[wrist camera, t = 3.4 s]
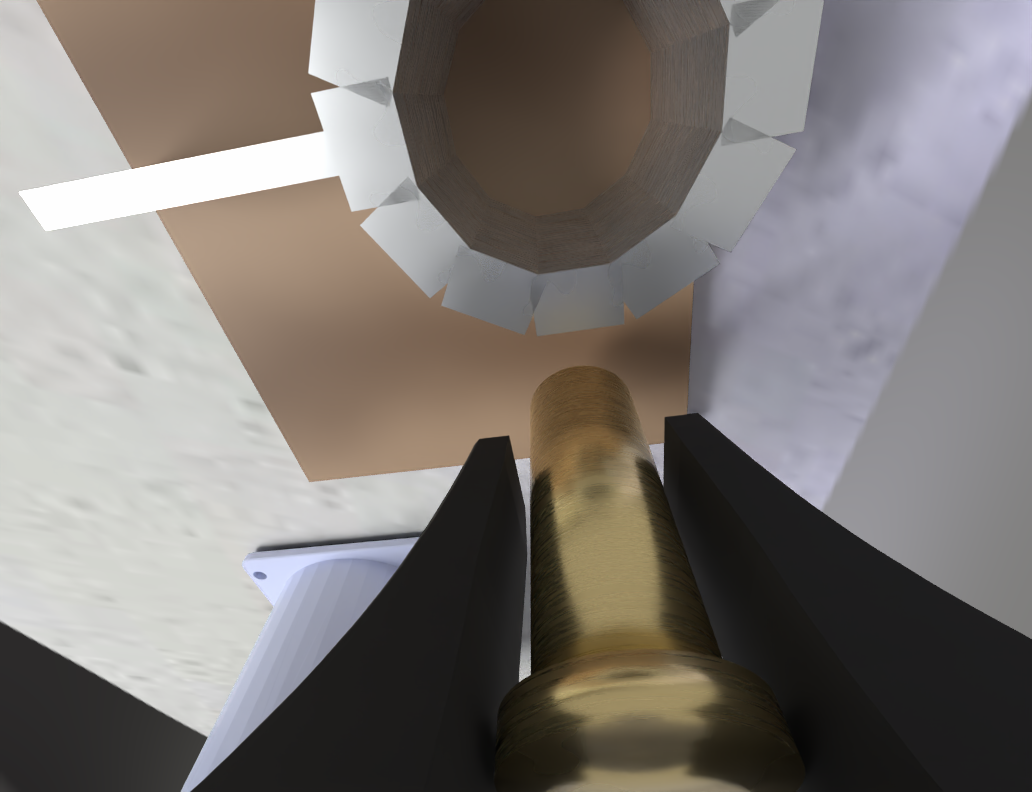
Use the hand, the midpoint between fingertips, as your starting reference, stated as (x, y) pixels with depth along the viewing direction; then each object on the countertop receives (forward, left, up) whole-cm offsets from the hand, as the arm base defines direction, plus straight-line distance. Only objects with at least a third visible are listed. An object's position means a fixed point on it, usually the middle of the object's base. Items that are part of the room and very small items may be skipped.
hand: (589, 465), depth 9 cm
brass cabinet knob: (0, 0, -2) cm, 2 cm away
